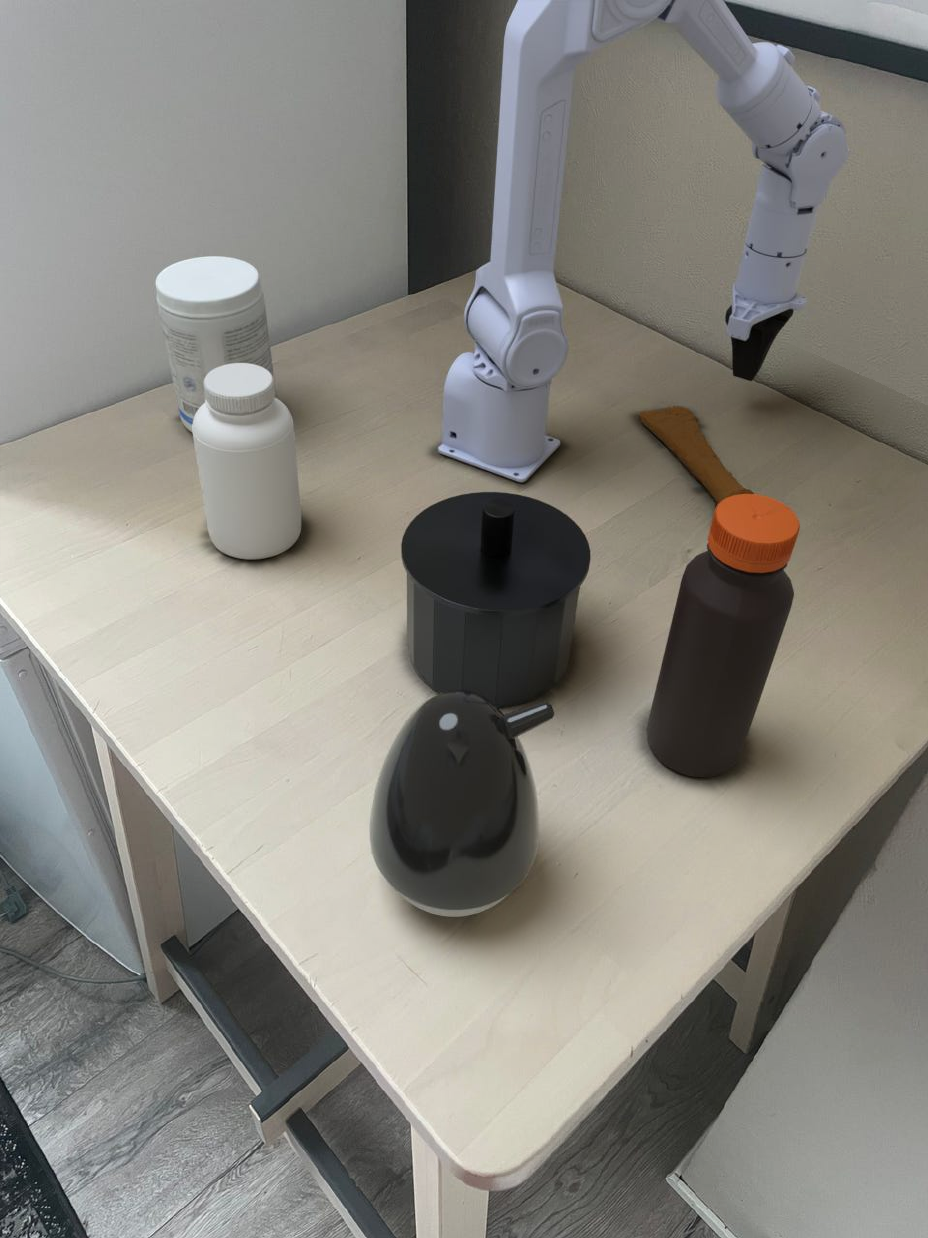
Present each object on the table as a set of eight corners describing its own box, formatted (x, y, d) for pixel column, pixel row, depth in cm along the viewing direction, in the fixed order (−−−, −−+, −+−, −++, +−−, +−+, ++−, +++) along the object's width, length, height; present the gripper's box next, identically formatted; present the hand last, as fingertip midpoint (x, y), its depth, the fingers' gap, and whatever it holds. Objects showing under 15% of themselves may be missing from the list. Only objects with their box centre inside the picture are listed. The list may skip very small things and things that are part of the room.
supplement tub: (274, 389, 106) (259, 251, 96) (282, 439, 100) (267, 296, 90) (178, 397, 105) (153, 257, 95) (180, 449, 98) (153, 303, 88)
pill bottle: (322, 533, 89) (310, 379, 79) (248, 575, 85) (226, 417, 75) (263, 494, 93) (245, 343, 83) (190, 533, 89) (161, 377, 78)
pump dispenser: (555, 927, 62) (584, 766, 52) (385, 957, 60) (378, 797, 50) (514, 793, 69) (531, 629, 59) (360, 816, 67) (351, 651, 57)
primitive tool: (635, 416, 105) (641, 385, 102) (684, 410, 106) (691, 380, 104) (718, 529, 91) (726, 497, 89) (773, 521, 93) (783, 490, 90)
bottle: (666, 694, 76) (721, 470, 63) (754, 731, 74) (831, 507, 60) (630, 754, 72) (680, 528, 58) (722, 795, 70) (797, 569, 56)
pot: (377, 665, 78) (373, 569, 71) (461, 576, 86) (464, 482, 79) (521, 732, 73) (532, 636, 67) (595, 631, 81) (611, 536, 75)
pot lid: (364, 577, 71) (361, 524, 68) (462, 483, 80) (464, 432, 77) (534, 650, 67) (540, 597, 64) (619, 542, 75) (628, 490, 72)
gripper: (794, 284, 90) (759, 419, 99) (840, 229, 99) (803, 357, 108) (717, 264, 92) (690, 397, 101) (769, 212, 101) (739, 339, 111)
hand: (744, 375), depth 105 cm, fingers closed
